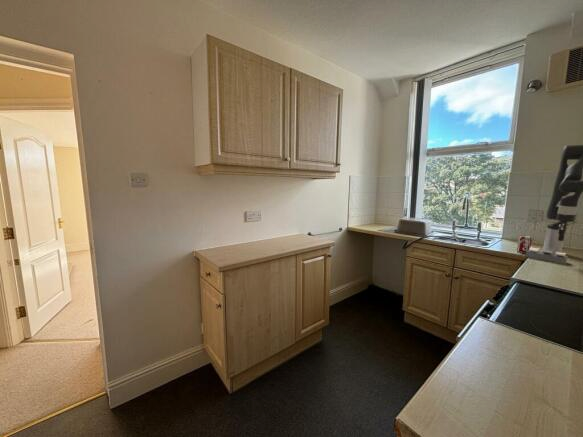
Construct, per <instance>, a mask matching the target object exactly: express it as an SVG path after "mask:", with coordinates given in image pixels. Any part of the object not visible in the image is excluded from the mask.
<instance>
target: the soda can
mask: <svg viewBox="0 0 583 437" xmlns="http://www.w3.org/2000/svg"><path fill="white" fill-rule="evenodd" d="M532 241H533V238H532V237H531V236H529V235H520V236H519V237H518V241H517V247H516V252H517V253H519V252H520V254H524V253H526V251H527V250H529V249H530V247H531V246H532V243H533V242H532Z"/></svg>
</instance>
